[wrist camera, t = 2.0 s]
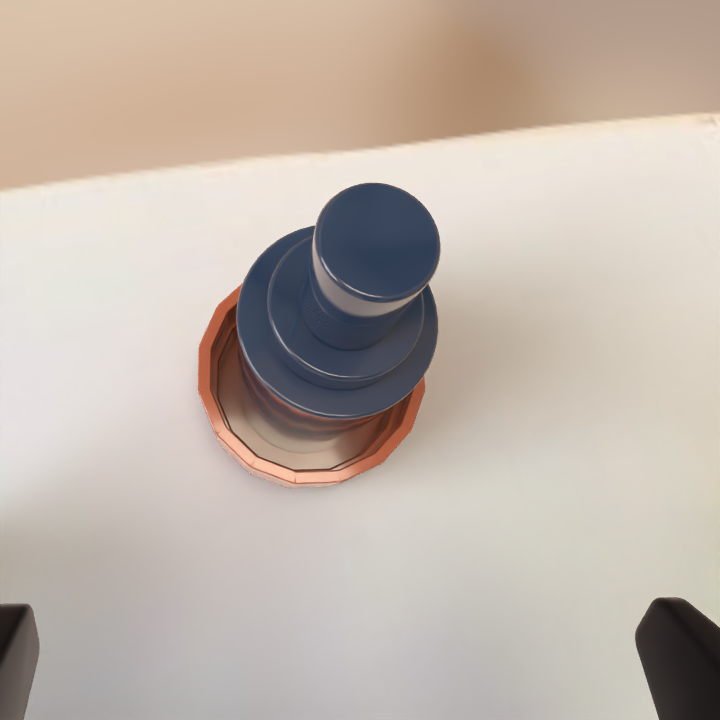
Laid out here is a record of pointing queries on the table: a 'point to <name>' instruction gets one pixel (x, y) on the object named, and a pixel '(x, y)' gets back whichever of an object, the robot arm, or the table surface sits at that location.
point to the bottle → (338, 319)
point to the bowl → (262, 456)
